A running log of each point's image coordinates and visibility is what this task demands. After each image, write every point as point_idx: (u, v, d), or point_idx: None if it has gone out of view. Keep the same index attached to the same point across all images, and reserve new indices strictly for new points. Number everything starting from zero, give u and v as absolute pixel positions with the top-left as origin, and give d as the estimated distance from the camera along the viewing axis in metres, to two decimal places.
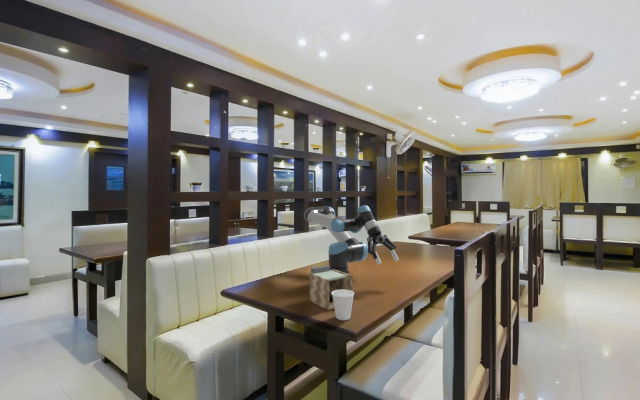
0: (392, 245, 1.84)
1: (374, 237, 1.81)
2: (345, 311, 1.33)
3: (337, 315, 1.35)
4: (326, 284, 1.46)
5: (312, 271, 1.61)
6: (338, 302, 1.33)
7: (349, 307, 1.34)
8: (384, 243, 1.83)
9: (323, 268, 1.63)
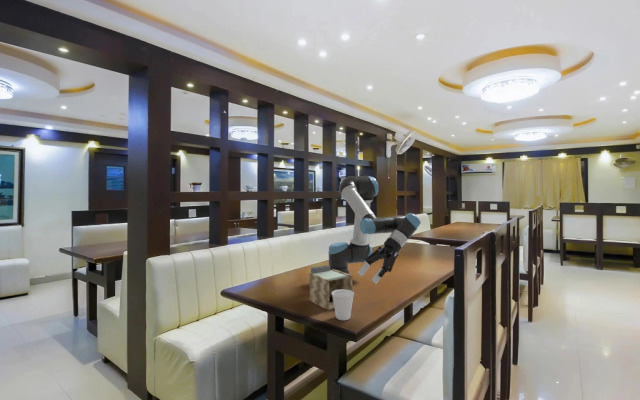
0: None
1: None
2: (345, 311, 1.33)
3: (337, 315, 1.35)
4: (326, 284, 1.46)
5: (312, 271, 1.61)
6: (338, 302, 1.33)
7: (349, 307, 1.34)
8: (378, 257, 1.45)
9: (323, 268, 1.63)
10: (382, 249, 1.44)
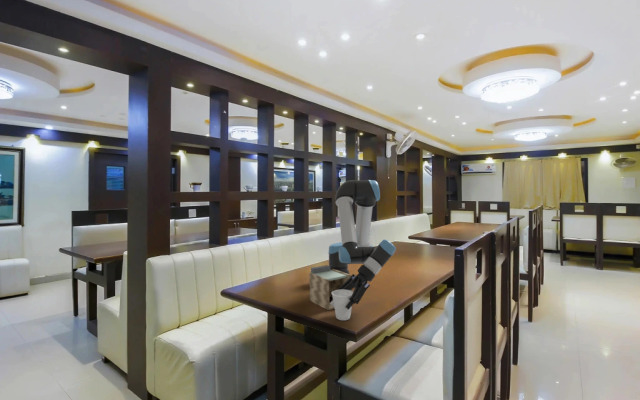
0: None
1: None
2: None
3: (337, 315, 1.35)
4: (326, 284, 1.46)
5: (312, 271, 1.61)
6: (338, 302, 1.33)
7: None
8: (352, 286, 1.41)
9: (323, 268, 1.63)
10: (355, 277, 1.40)
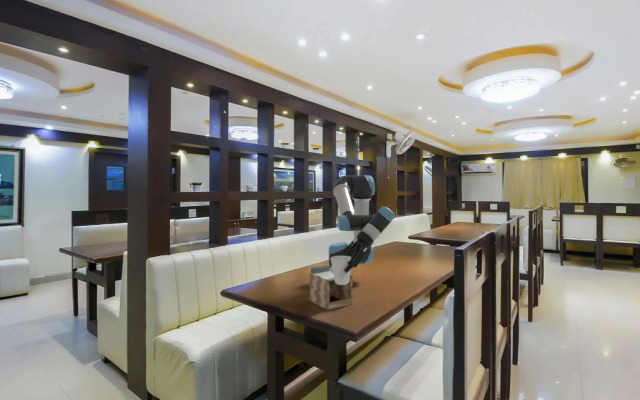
0: None
1: None
2: None
3: (336, 280, 1.36)
4: (326, 284, 1.46)
5: (312, 271, 1.61)
6: (337, 267, 1.34)
7: None
8: (350, 252, 1.42)
9: (323, 268, 1.63)
10: (354, 243, 1.41)
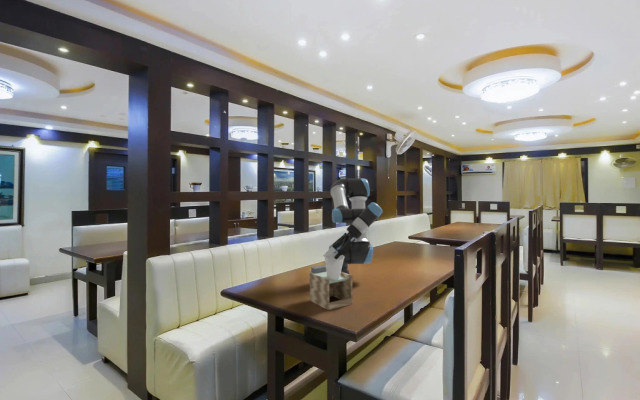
0: None
1: None
2: (334, 272, 1.51)
3: (327, 275, 1.53)
4: (326, 284, 1.46)
5: (312, 271, 1.61)
6: (328, 264, 1.51)
7: (338, 269, 1.51)
8: (342, 242, 1.59)
9: (323, 268, 1.62)
10: (344, 234, 1.57)
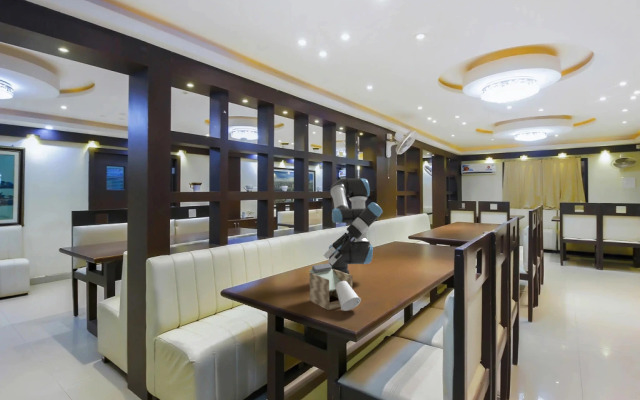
0: None
1: None
2: None
3: (337, 288, 1.47)
4: (326, 284, 1.46)
5: (313, 269, 1.60)
6: (339, 301, 1.43)
7: None
8: (342, 242, 1.59)
9: (324, 268, 1.61)
10: (344, 234, 1.57)
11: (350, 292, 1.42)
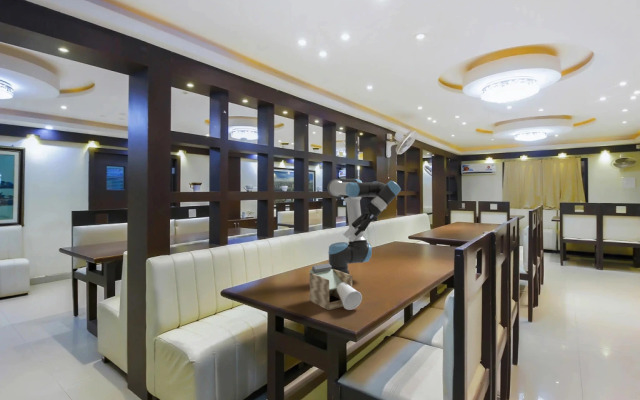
0: None
1: None
2: (339, 296, 1.50)
3: (339, 287, 1.51)
4: (326, 284, 1.46)
5: (313, 270, 1.60)
6: (342, 296, 1.45)
7: None
8: (361, 221, 1.62)
9: (324, 268, 1.62)
10: (364, 213, 1.60)
11: (353, 288, 1.47)
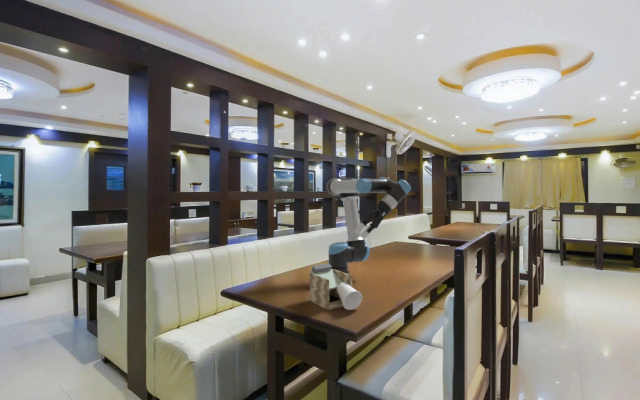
0: None
1: None
2: (339, 296, 1.50)
3: (339, 287, 1.51)
4: (326, 284, 1.46)
5: (313, 270, 1.60)
6: (342, 296, 1.45)
7: None
8: (371, 218, 1.65)
9: (324, 268, 1.62)
10: (374, 211, 1.63)
11: (353, 288, 1.47)
